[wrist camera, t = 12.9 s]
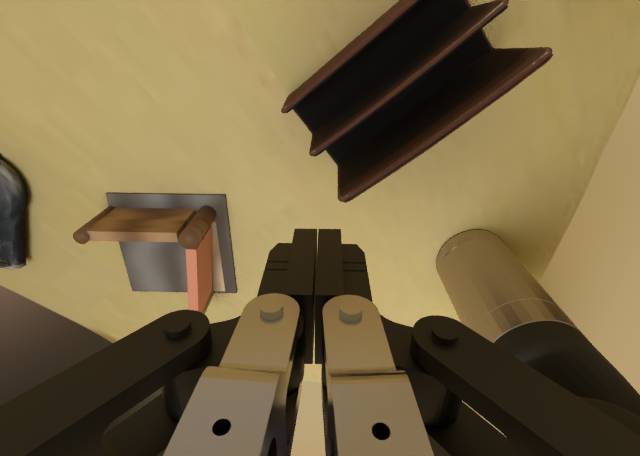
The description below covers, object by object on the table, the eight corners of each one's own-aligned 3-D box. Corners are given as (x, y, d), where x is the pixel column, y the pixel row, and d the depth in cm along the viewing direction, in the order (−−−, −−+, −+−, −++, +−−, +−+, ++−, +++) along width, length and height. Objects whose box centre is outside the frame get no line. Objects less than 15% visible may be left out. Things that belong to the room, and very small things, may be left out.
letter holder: (491, 52, 38) (571, 58, 26) (339, 166, 44) (343, 216, 32) (443, -39, 35) (507, -84, 22) (285, 97, 41) (266, 123, 28)
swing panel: (200, 224, 47) (182, 250, 41) (212, 226, 47) (196, 251, 41) (202, 296, 52) (186, 327, 47) (213, 297, 52) (199, 329, 47)
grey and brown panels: (225, 194, 46) (207, 220, 39) (237, 291, 53) (223, 328, 46) (102, 192, 46) (64, 218, 39) (130, 289, 53) (101, 325, 46)
